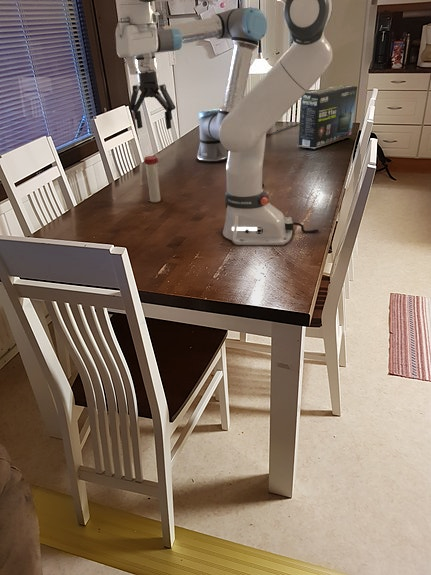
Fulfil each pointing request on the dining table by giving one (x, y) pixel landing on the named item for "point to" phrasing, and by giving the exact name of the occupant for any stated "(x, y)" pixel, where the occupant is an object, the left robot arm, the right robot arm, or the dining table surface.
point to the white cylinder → (153, 182)
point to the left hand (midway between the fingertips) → (154, 128)
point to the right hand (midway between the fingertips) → (140, 72)
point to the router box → (326, 115)
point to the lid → (150, 160)
